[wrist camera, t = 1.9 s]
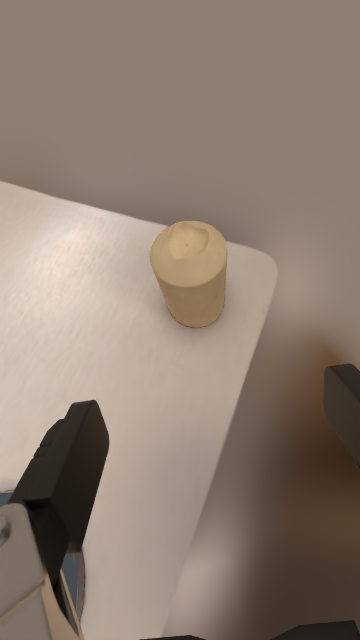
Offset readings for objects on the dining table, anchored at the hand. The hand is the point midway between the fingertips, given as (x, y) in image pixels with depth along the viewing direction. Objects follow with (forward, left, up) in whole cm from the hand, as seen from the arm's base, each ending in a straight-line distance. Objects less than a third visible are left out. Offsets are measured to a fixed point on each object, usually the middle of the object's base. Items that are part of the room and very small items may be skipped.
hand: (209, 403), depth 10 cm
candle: (+5, -10, -15) cm, 19 cm away
